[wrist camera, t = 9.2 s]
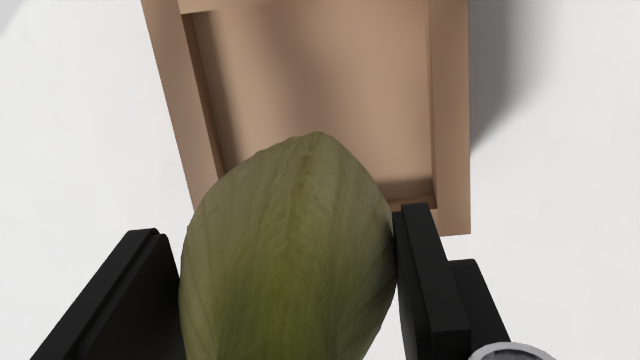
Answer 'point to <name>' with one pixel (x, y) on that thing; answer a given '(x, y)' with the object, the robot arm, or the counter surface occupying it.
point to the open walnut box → (323, 89)
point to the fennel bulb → (288, 258)
